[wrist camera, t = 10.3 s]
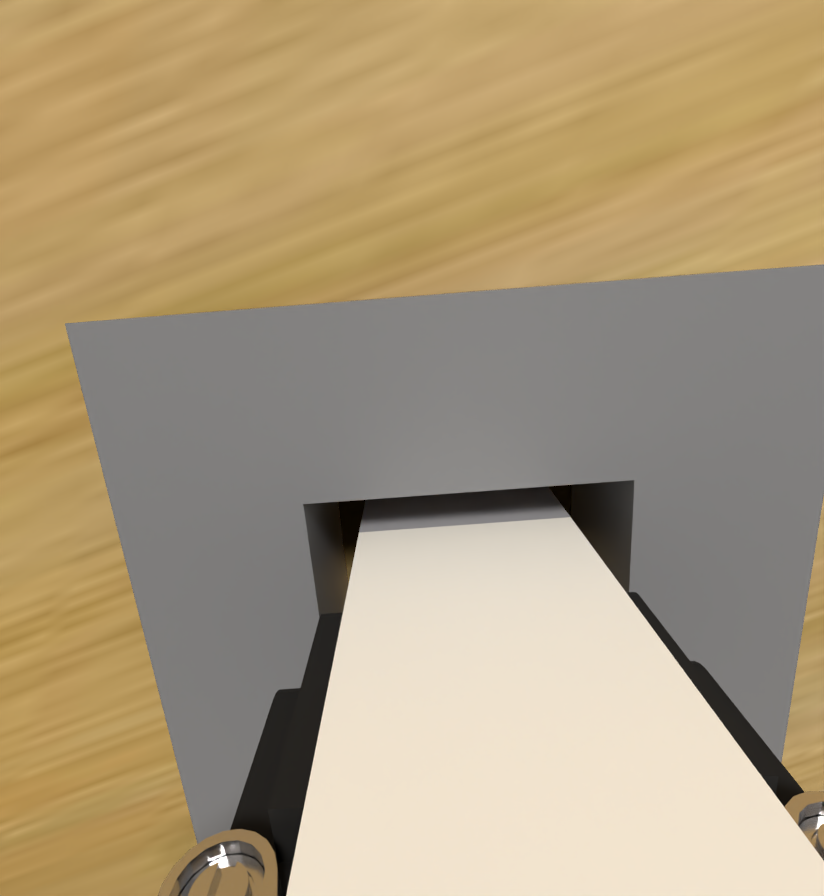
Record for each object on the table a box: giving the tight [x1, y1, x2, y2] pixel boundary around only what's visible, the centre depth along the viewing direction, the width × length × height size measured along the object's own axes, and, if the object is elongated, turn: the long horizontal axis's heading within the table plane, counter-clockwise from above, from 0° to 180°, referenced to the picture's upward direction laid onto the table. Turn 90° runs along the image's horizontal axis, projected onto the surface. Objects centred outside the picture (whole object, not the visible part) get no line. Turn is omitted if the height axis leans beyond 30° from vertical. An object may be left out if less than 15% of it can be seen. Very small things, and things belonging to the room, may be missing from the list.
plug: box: [286, 486, 824, 896], centre depth 8 cm, size 4×4×12 cm
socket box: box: [65, 265, 824, 844], centre depth 13 cm, size 14×14×4 cm
